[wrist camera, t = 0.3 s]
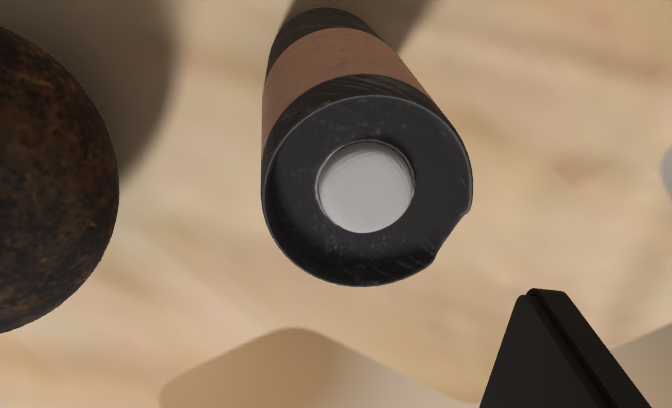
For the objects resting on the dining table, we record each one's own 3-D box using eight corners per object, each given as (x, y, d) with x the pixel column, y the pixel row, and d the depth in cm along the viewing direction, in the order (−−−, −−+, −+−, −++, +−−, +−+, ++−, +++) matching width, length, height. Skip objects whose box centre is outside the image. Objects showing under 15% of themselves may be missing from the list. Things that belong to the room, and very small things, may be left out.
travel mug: (248, 22, 38) (226, 125, 20) (370, -13, 38) (457, 60, 20) (284, 137, 42) (293, 314, 24) (396, 106, 42) (492, 260, 23)
